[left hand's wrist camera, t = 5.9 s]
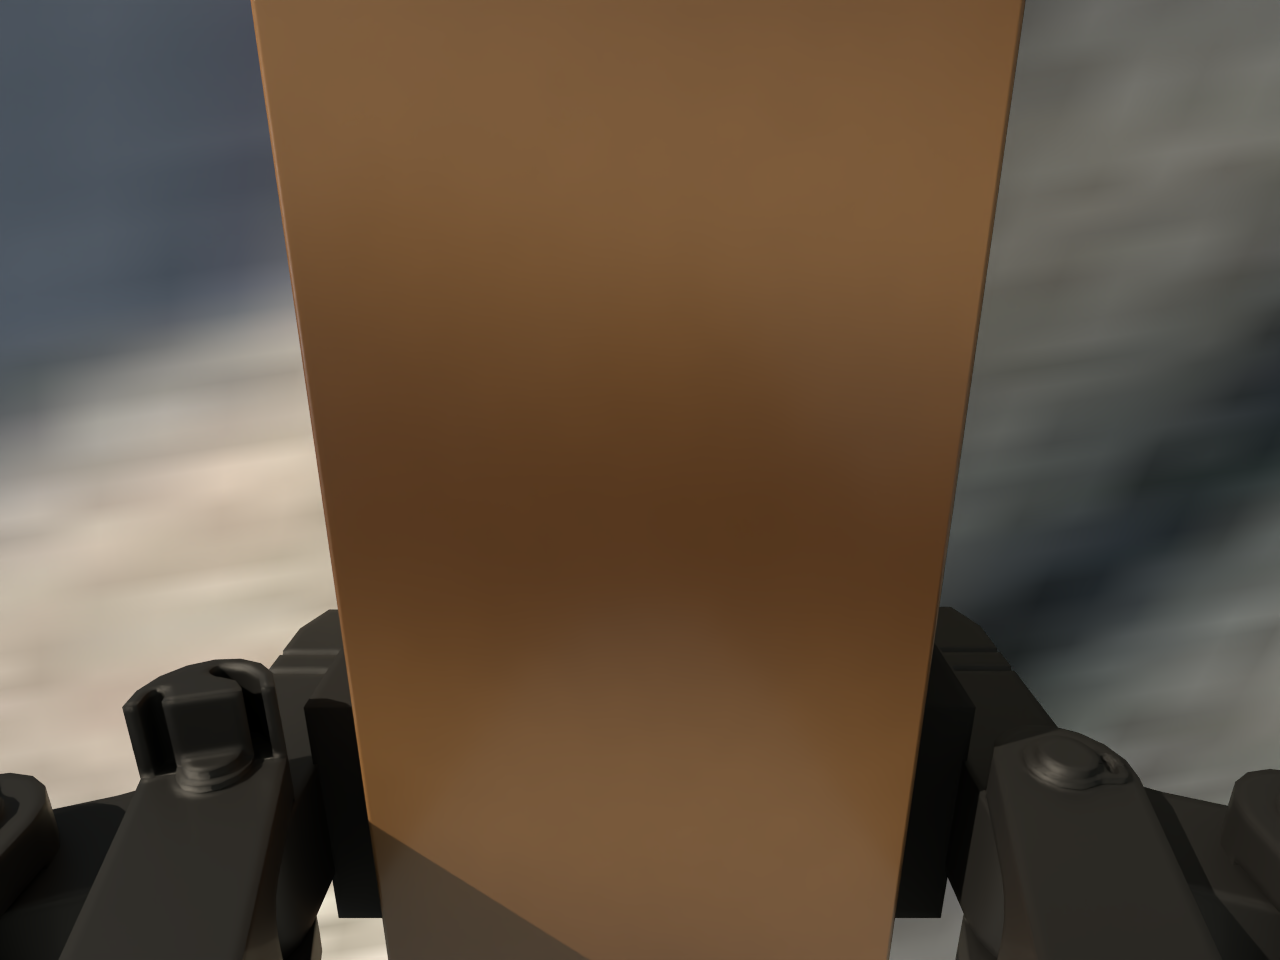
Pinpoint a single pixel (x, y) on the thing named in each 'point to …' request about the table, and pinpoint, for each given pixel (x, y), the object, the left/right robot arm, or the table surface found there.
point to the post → (638, 445)
